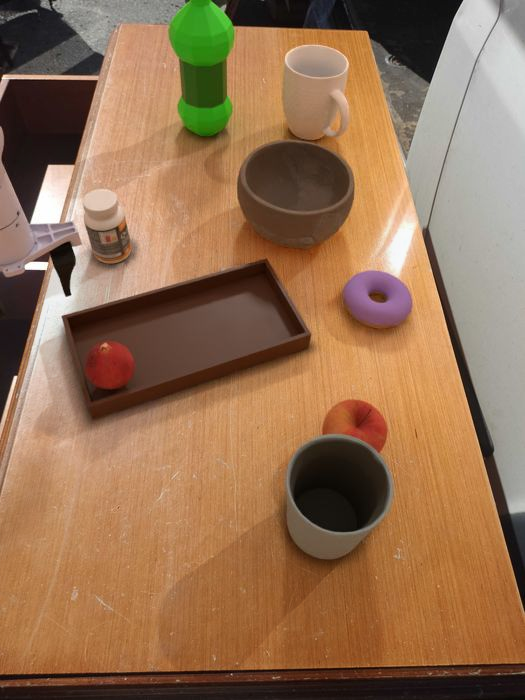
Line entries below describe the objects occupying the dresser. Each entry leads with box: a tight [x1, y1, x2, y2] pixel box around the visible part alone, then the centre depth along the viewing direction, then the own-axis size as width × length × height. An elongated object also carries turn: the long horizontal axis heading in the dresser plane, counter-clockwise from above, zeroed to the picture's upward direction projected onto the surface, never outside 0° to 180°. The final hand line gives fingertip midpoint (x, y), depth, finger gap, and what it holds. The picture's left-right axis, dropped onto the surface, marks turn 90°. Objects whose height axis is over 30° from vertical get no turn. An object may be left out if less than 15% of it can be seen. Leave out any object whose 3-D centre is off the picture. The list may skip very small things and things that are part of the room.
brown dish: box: [60, 257, 312, 420], centre depth 74 cm, size 30×15×3 cm, turn 113°
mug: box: [281, 44, 351, 141], centre depth 98 cm, size 15×11×13 cm
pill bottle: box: [82, 188, 132, 264], centre depth 80 cm, size 6×6×10 cm
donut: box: [342, 269, 413, 329], centre depth 79 cm, size 10×9×5 cm
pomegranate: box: [85, 341, 135, 390], centre depth 67 cm, size 6×6×8 cm
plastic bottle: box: [168, 0, 236, 137], centre depth 93 cm, size 10×10×25 cm
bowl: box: [236, 139, 356, 250], centre depth 85 cm, size 17×18×10 cm
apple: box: [321, 398, 388, 454], centre depth 64 cm, size 7×7×8 cm
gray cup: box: [284, 434, 395, 560], centre depth 57 cm, size 10×10×12 cm
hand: (34, 299), depth 66 cm, fingers open, 7 cm apart
